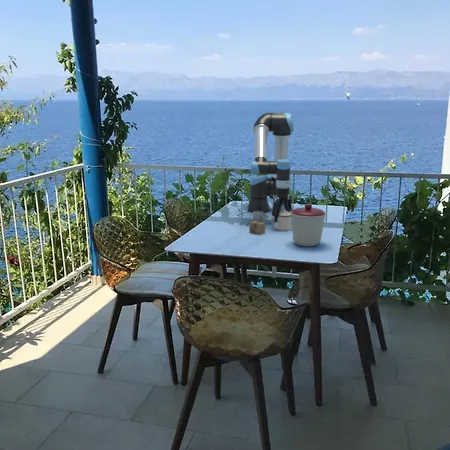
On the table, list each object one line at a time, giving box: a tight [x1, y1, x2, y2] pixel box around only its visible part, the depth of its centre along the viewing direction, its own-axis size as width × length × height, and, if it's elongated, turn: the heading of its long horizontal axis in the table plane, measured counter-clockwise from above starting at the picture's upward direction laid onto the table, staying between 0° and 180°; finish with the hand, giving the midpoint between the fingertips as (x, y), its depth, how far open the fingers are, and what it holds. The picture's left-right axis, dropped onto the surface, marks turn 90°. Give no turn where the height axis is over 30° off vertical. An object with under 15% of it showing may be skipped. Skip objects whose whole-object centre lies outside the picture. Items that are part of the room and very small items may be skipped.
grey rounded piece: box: [252, 211, 264, 223], centre depth 278 cm, size 6×6×8 cm
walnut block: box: [248, 220, 266, 236], centre depth 261 cm, size 7×5×6 cm
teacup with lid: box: [270, 208, 292, 232], centre depth 269 cm, size 12×9×12 cm
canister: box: [290, 203, 327, 247], centre depth 238 cm, size 18×18×21 cm
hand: (281, 226), depth 270 cm, fingers closed on teacup with lid, 9 cm apart
